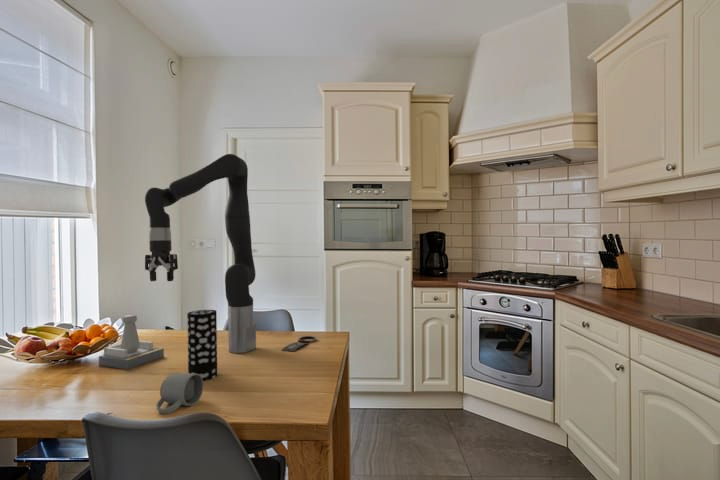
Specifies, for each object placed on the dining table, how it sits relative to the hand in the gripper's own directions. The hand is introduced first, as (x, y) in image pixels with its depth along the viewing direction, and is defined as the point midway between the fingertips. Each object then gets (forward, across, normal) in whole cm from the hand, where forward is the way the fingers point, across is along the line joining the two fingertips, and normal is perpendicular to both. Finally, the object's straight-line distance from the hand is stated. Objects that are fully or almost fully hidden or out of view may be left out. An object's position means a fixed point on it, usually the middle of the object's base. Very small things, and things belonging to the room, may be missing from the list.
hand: (161, 281), depth 145 cm
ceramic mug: (+28, -45, +37) cm, 64 cm away
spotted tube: (+28, -36, +18) cm, 49 cm away
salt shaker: (+24, +1, +13) cm, 27 cm away
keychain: (+28, -48, -22) cm, 60 cm away
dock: (+27, 0, +14) cm, 30 cm away
